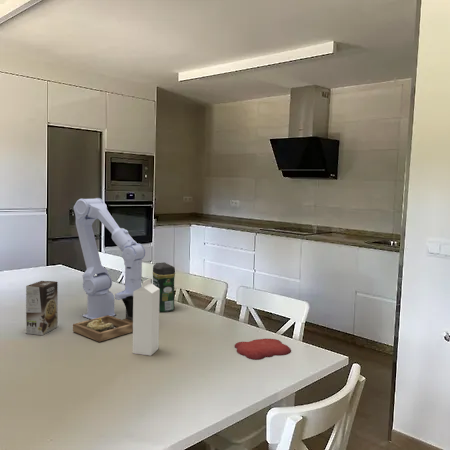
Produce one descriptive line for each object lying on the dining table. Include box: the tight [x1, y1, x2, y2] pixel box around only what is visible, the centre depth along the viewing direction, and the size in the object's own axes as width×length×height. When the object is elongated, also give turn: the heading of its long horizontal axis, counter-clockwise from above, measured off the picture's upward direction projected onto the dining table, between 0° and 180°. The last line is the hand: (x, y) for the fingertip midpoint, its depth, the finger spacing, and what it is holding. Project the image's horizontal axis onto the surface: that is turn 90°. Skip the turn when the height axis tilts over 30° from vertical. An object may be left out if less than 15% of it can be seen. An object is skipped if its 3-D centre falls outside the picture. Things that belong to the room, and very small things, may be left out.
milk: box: [132, 277, 160, 357], centre depth 141 cm, size 6×6×22 cm
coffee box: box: [25, 280, 59, 336], centre depth 156 cm, size 9×6×16 cm
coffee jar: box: [152, 262, 176, 313], centre depth 186 cm, size 10×8×19 cm
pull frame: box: [72, 309, 133, 343], centre depth 160 cm, size 20×14×6 cm
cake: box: [87, 318, 115, 332], centre depth 156 cm, size 10×10×5 cm
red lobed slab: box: [234, 338, 292, 361], centre depth 146 cm, size 18×14×2 cm
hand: (132, 316), depth 167 cm, fingers closed on pull frame, 2 cm apart
